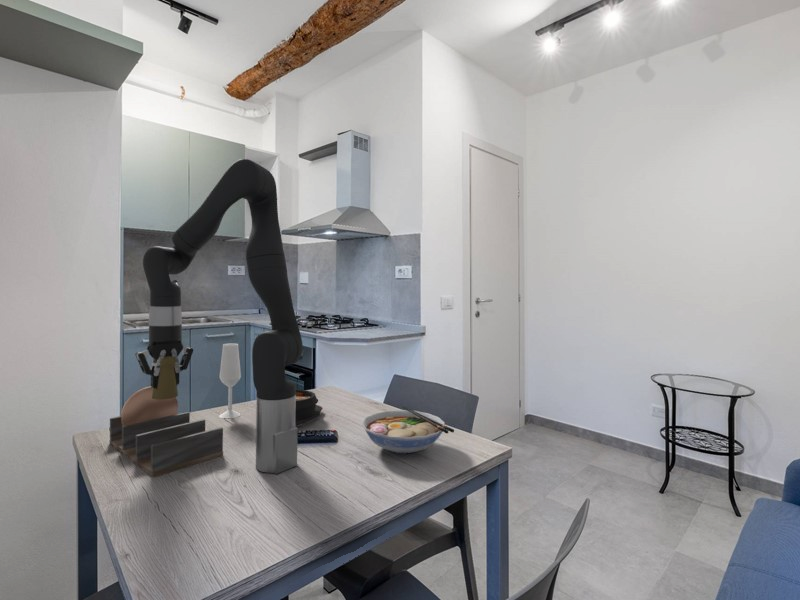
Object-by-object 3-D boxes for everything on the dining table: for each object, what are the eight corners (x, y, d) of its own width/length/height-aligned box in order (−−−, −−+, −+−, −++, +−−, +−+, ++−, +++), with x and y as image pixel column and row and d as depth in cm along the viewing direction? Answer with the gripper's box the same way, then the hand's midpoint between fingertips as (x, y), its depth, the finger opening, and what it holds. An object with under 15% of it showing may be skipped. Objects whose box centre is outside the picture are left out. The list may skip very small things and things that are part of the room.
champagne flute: (240, 411, 142) (241, 342, 141) (240, 417, 135) (241, 345, 135) (219, 413, 139) (219, 343, 138) (218, 419, 133) (219, 346, 132)
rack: (223, 454, 105) (223, 397, 105) (153, 477, 93) (153, 411, 92) (173, 427, 124) (173, 379, 124) (109, 443, 111) (109, 388, 111)
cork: (170, 399, 105) (170, 357, 105) (146, 399, 105) (146, 356, 105) (182, 393, 111) (182, 353, 111) (160, 393, 111) (160, 353, 111)
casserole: (289, 406, 149) (290, 383, 148) (335, 413, 143) (335, 389, 142) (242, 428, 125) (242, 401, 125) (294, 437, 119) (294, 408, 119)
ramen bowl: (347, 439, 118) (348, 411, 118) (416, 428, 128) (417, 402, 128) (384, 475, 96) (385, 441, 96) (464, 459, 106) (464, 428, 106)
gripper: (140, 326, 99) (140, 395, 100) (199, 322, 111) (199, 385, 111) (129, 323, 104) (129, 390, 105) (187, 321, 115) (186, 381, 116)
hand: (165, 387), depth 108 cm, fingers closed on cork, 3 cm apart
